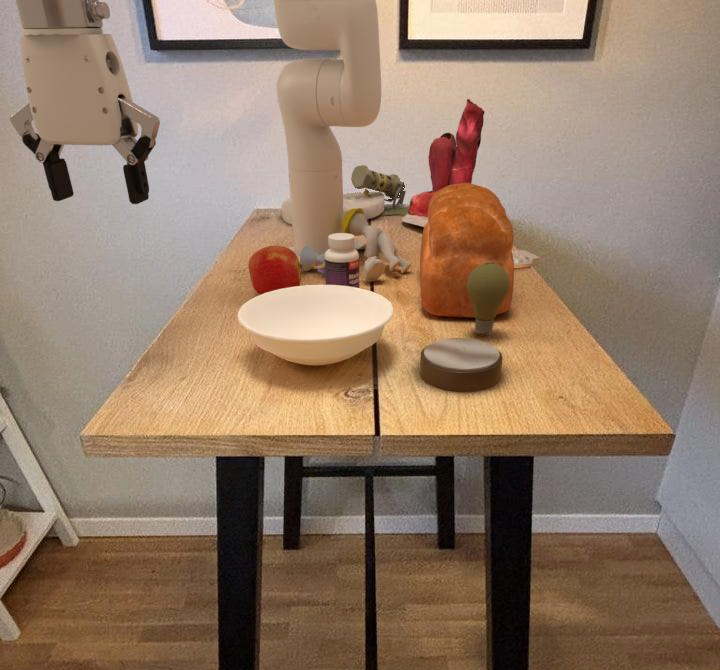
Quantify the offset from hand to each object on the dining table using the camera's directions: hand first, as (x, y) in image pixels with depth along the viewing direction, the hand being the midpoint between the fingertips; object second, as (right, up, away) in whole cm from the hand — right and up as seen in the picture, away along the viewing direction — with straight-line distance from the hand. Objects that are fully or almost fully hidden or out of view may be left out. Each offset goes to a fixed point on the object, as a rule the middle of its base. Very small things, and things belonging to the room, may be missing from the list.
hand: (101, 200), depth 75 cm
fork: (+28, +18, +55) cm, 64 cm away
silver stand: (+42, -19, +7) cm, 47 cm away
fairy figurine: (+15, +8, +44) cm, 47 cm away
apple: (+16, -3, +31) cm, 35 cm away
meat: (+53, +20, +68) cm, 88 cm away
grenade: (+29, +35, +72) cm, 86 cm away
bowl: (+24, -16, +12) cm, 31 cm away
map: (+44, +30, +79) cm, 95 cm away
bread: (+46, -1, +32) cm, 56 cm away
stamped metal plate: (+59, +7, +47) cm, 76 cm away
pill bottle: (+27, -3, +30) cm, 40 cm away
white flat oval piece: (+24, +30, +78) cm, 87 cm away
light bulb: (+47, -12, +17) cm, 51 cm away
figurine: (+35, +3, +37) cm, 51 cm away
